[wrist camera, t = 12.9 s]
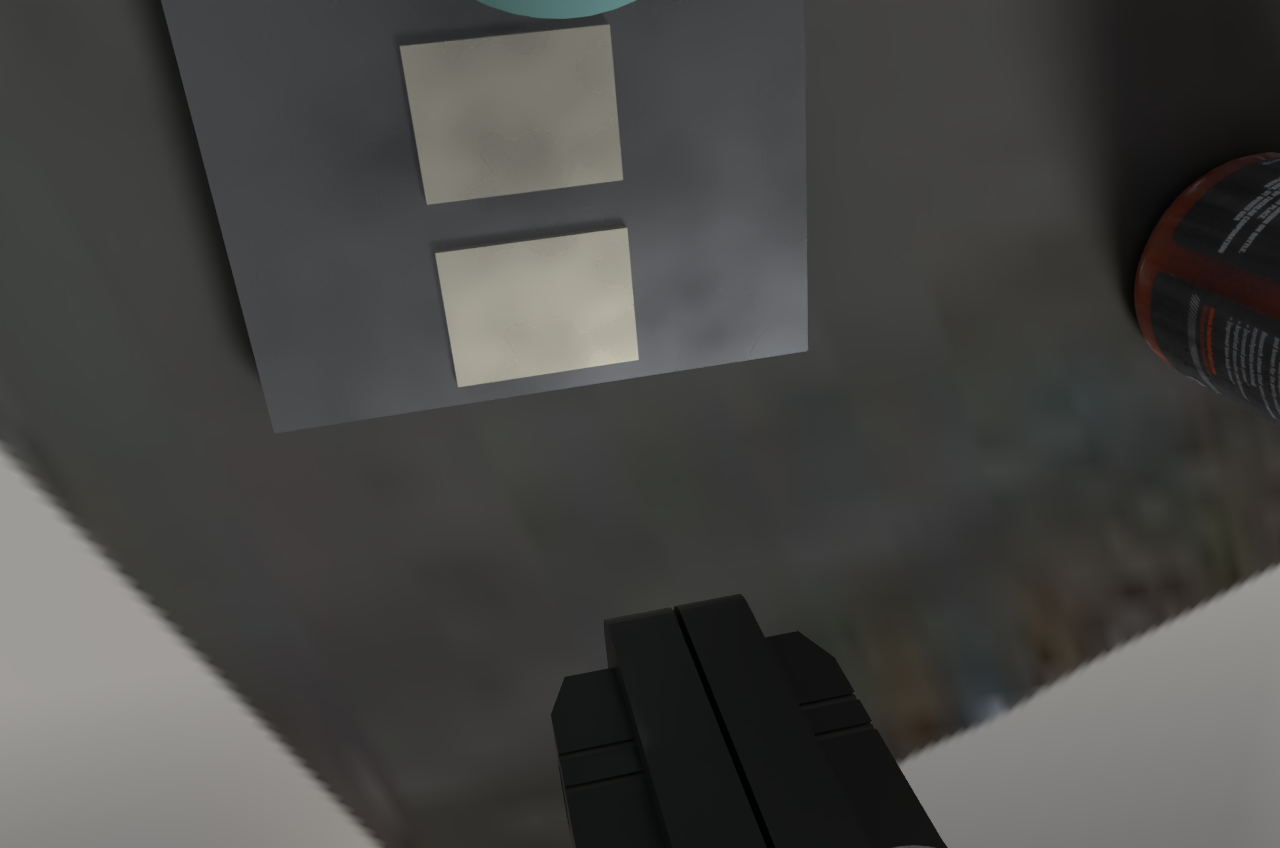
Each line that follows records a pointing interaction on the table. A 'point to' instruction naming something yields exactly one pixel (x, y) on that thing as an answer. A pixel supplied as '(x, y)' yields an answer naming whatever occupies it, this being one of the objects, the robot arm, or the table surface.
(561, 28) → the plate
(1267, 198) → the supplement bottle
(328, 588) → the table surface
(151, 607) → the table surface
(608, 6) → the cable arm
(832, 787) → the robot arm
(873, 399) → the table surface
